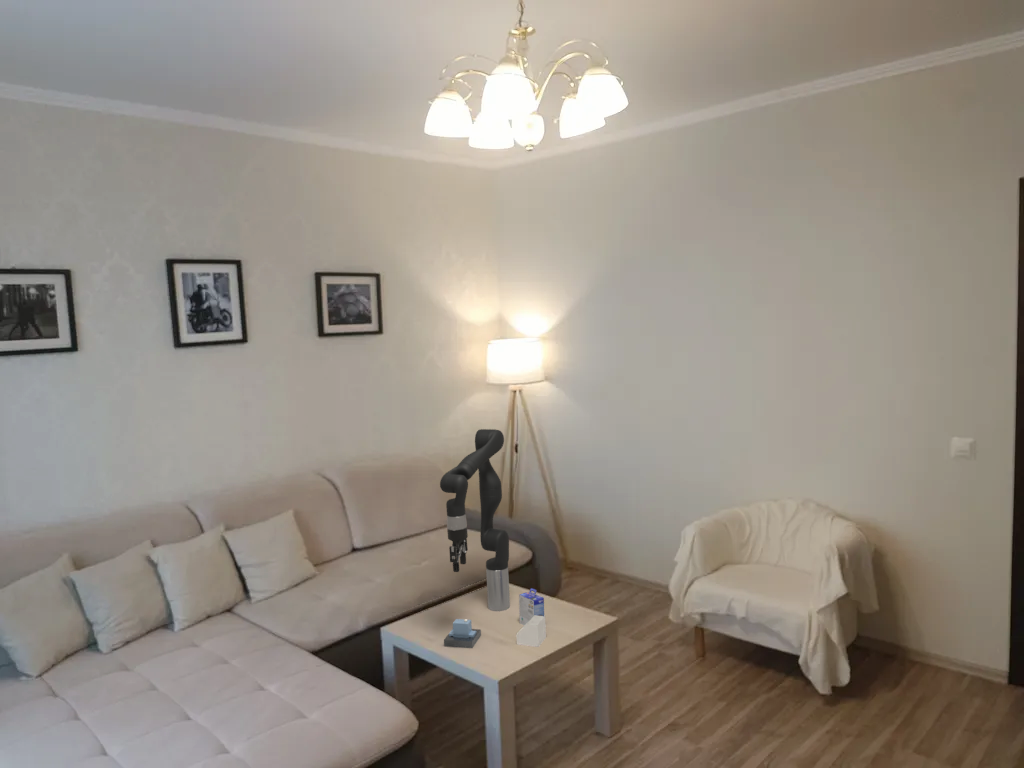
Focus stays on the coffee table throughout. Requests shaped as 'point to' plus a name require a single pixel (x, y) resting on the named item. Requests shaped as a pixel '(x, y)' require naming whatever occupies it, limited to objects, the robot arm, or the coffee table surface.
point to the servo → (462, 629)
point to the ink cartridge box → (530, 606)
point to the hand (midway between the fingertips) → (459, 567)
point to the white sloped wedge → (532, 632)
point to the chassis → (462, 640)
